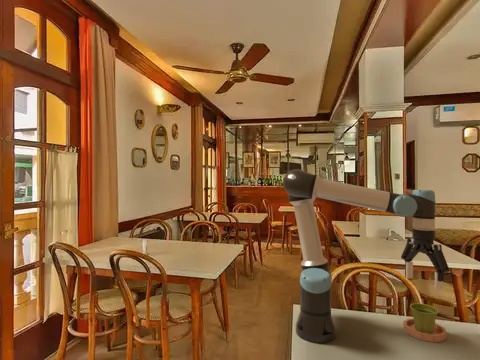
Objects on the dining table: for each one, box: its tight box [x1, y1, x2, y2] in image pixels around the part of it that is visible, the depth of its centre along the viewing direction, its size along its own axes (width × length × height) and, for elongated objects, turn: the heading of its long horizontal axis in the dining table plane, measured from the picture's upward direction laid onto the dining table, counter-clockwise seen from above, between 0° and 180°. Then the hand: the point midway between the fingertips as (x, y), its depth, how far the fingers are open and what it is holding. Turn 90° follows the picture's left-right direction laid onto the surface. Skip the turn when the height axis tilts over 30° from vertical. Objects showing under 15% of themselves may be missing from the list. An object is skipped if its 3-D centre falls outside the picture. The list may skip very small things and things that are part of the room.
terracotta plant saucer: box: [402, 317, 448, 343], centre depth 114 cm, size 14×14×2 cm
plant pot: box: [409, 302, 439, 334], centre depth 114 cm, size 9×9×9 cm
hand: (423, 283), depth 115 cm, fingers open, 13 cm apart
